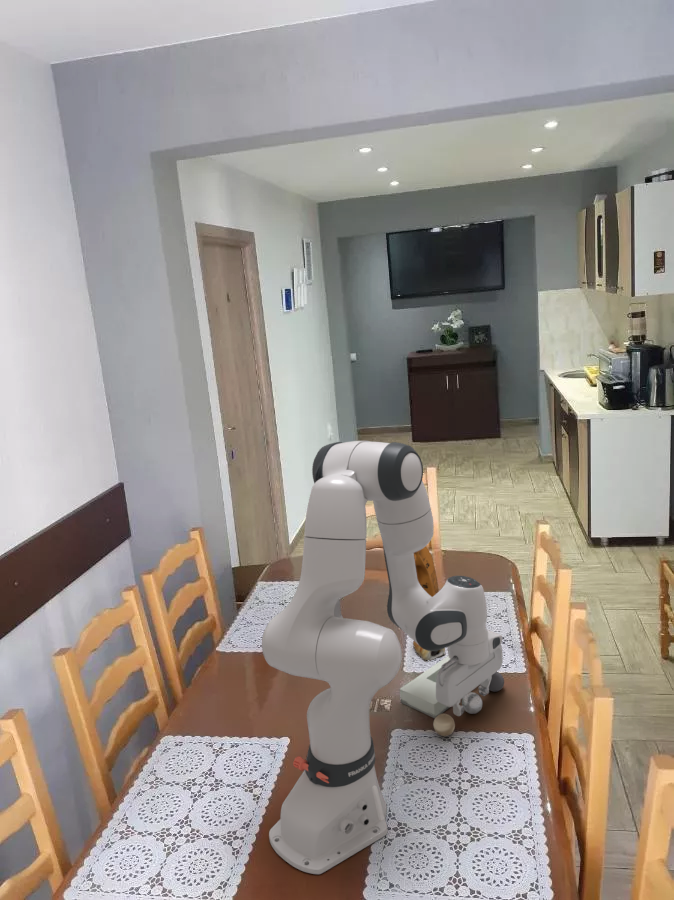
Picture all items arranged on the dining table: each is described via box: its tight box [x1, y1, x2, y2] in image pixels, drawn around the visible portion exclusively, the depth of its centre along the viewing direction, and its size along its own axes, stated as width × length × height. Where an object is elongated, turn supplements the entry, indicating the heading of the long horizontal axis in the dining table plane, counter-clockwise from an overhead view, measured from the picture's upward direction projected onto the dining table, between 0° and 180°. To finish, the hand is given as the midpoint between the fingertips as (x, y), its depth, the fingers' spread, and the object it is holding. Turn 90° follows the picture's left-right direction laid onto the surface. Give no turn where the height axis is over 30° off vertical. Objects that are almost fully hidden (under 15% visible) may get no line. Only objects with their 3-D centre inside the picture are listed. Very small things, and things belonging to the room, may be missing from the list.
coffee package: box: [414, 545, 440, 597], centre depth 203 cm, size 10×12×22 cm
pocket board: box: [399, 655, 451, 719], centre depth 168 cm, size 20×10×4 cm, turn 134°
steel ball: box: [461, 691, 483, 715], centre depth 159 cm, size 4×4×4 cm
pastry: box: [412, 640, 446, 662], centre depth 186 cm, size 9×7×4 cm
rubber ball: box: [489, 671, 505, 693], centre depth 166 cm, size 4×4×4 cm
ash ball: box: [432, 713, 456, 737], centre depth 152 cm, size 4×4×4 cm
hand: (471, 703), depth 159 cm, fingers open, 8 cm apart
